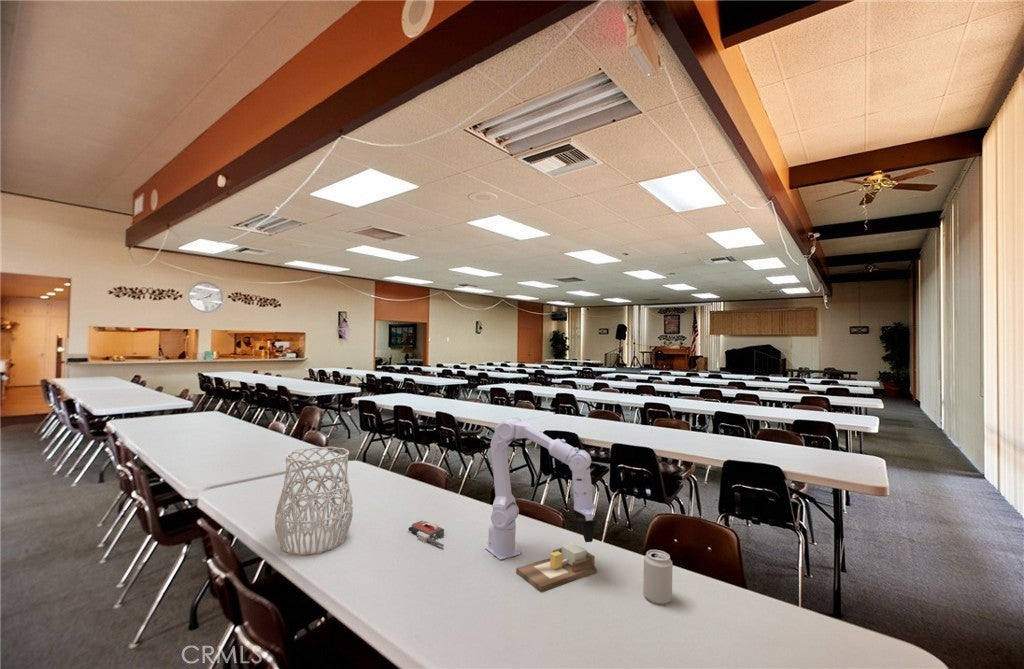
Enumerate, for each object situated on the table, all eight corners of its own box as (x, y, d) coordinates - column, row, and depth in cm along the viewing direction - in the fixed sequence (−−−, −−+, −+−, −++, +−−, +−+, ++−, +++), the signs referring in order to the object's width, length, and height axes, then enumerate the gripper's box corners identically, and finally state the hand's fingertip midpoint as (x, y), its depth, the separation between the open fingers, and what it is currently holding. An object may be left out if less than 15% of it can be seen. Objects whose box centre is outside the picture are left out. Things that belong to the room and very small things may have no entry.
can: (649, 587, 125) (650, 545, 125) (675, 597, 120) (676, 553, 121) (638, 598, 119) (639, 554, 120) (666, 609, 114) (666, 563, 115)
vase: (323, 522, 165) (326, 442, 166) (366, 537, 152) (370, 451, 153) (258, 545, 144) (263, 454, 145) (302, 565, 131) (307, 465, 133)
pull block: (546, 563, 133) (546, 550, 134) (573, 555, 140) (573, 542, 140) (558, 572, 128) (558, 558, 129) (586, 563, 135) (586, 550, 135)
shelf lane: (516, 573, 131) (516, 558, 131) (570, 556, 143) (570, 542, 143) (540, 592, 121) (541, 575, 121) (596, 572, 133) (596, 557, 133)
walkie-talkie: (403, 534, 157) (440, 551, 144) (403, 521, 157) (441, 537, 145) (422, 527, 164) (459, 542, 151) (422, 515, 164) (460, 530, 151)
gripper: (601, 497, 127) (605, 545, 126) (589, 484, 142) (593, 527, 141) (577, 499, 127) (581, 547, 126) (568, 486, 141) (571, 529, 140)
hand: (585, 536), depth 133 cm, fingers open, 7 cm apart
